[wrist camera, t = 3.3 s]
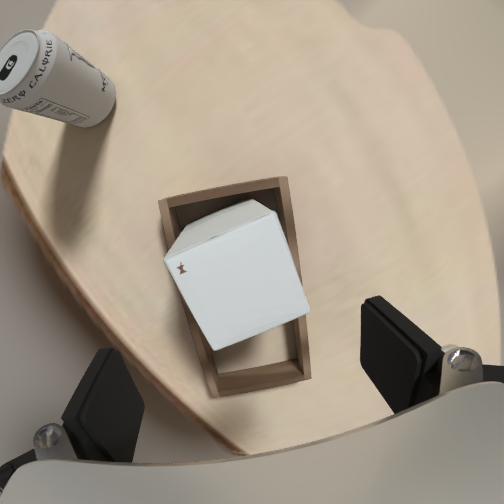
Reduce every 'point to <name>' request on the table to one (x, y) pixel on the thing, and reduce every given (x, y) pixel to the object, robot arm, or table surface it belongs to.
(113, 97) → the energy drink can
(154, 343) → the table surface
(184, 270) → the supplement box
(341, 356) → the table surface
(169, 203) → the frame
